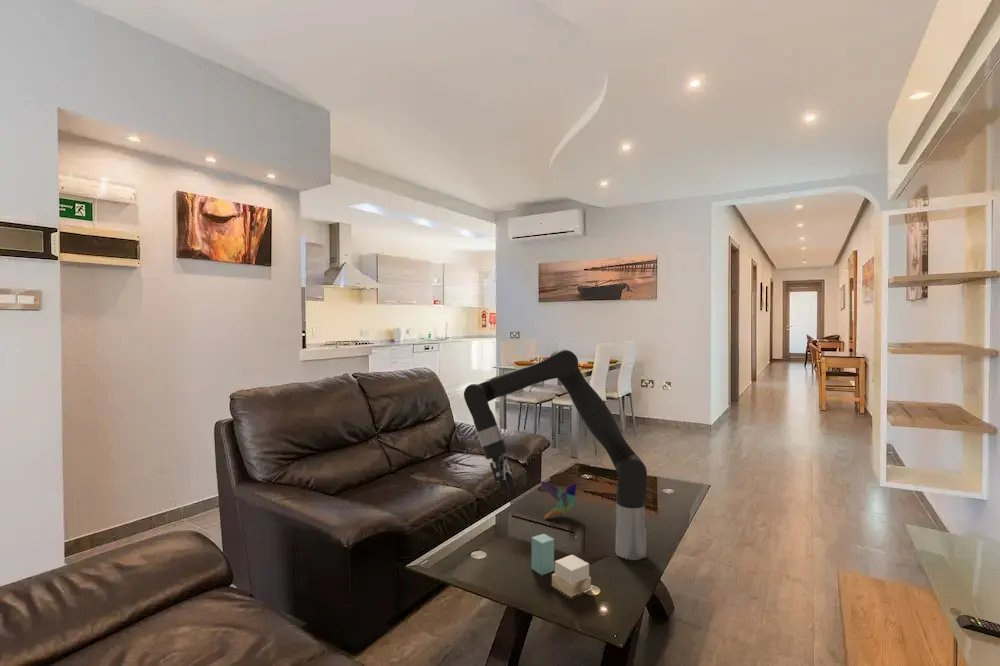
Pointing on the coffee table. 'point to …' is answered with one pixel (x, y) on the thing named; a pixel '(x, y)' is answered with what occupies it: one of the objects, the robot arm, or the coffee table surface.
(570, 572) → the tower top block
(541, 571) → the teal block
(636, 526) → the robot arm
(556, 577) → the tower base block
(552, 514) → the decorative sculpture
